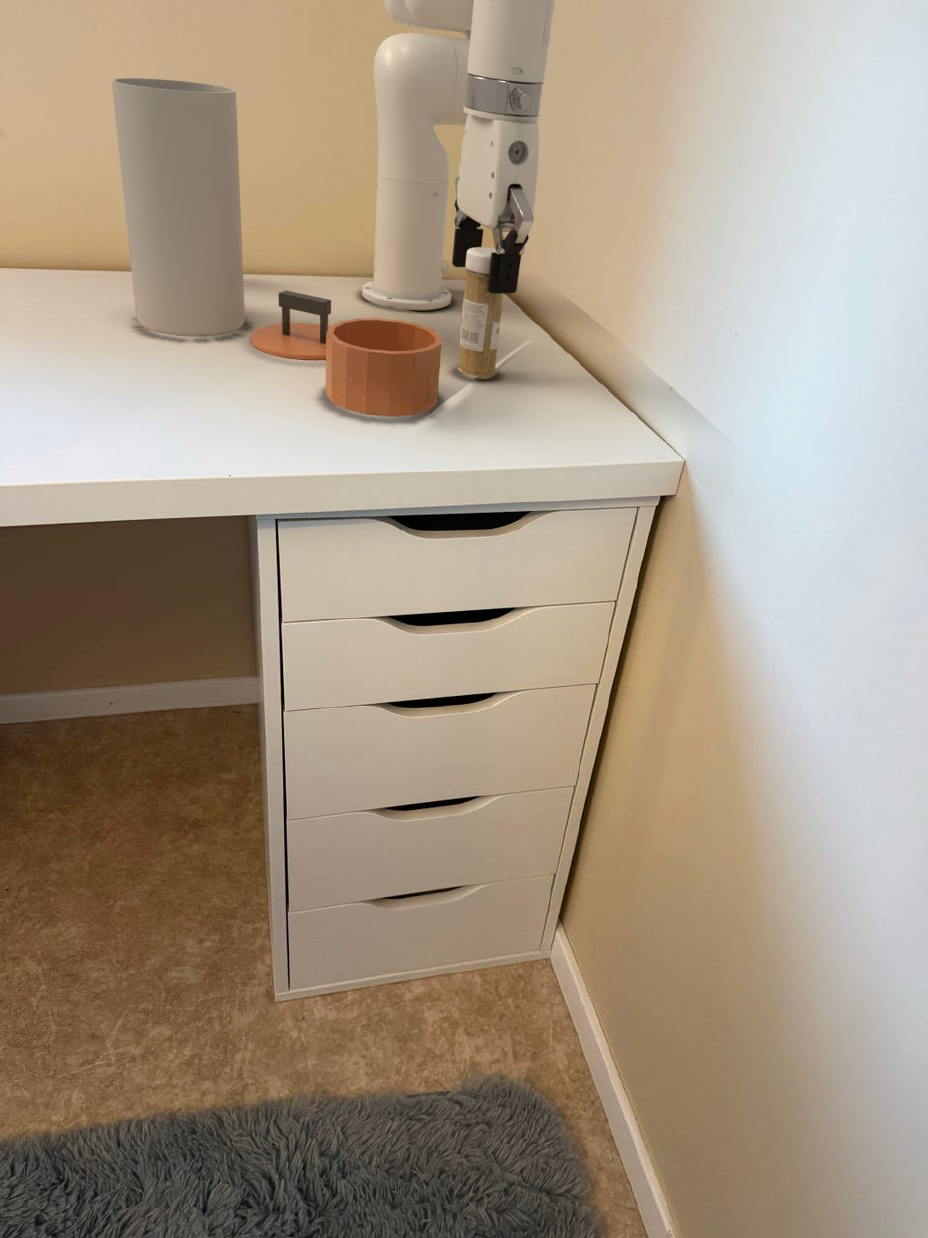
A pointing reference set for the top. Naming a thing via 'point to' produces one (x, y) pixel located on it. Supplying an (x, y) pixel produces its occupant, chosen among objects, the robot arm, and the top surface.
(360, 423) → the top surface
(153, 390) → the top surface
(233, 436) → the top surface
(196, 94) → the cylinder vase
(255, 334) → the lid
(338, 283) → the top surface
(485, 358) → the sprinkles bottle
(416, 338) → the pot
